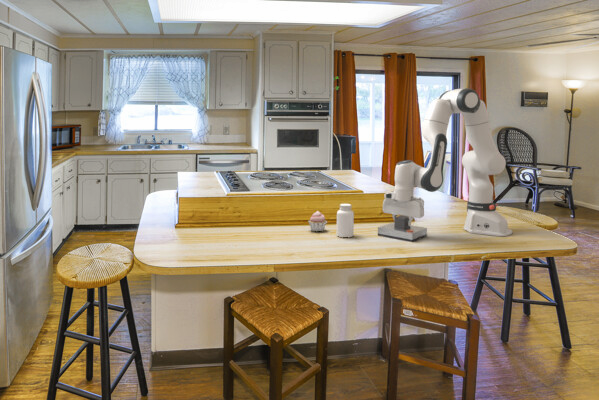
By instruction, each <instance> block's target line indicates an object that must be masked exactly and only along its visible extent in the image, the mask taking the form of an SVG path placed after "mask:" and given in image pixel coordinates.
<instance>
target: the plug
mask: <svg viewBox="0 0 599 400" xmlns="http://www.w3.org/2000/svg"><path fill="white" fill-rule="evenodd" d="M409 220H410V219H409V217H408V216H402V215H397V216H396V217H395V224H394V228H398V229H403V230H405V229H407V228H410V226H407V225H406V222H408V221H409Z"/></svg>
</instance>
